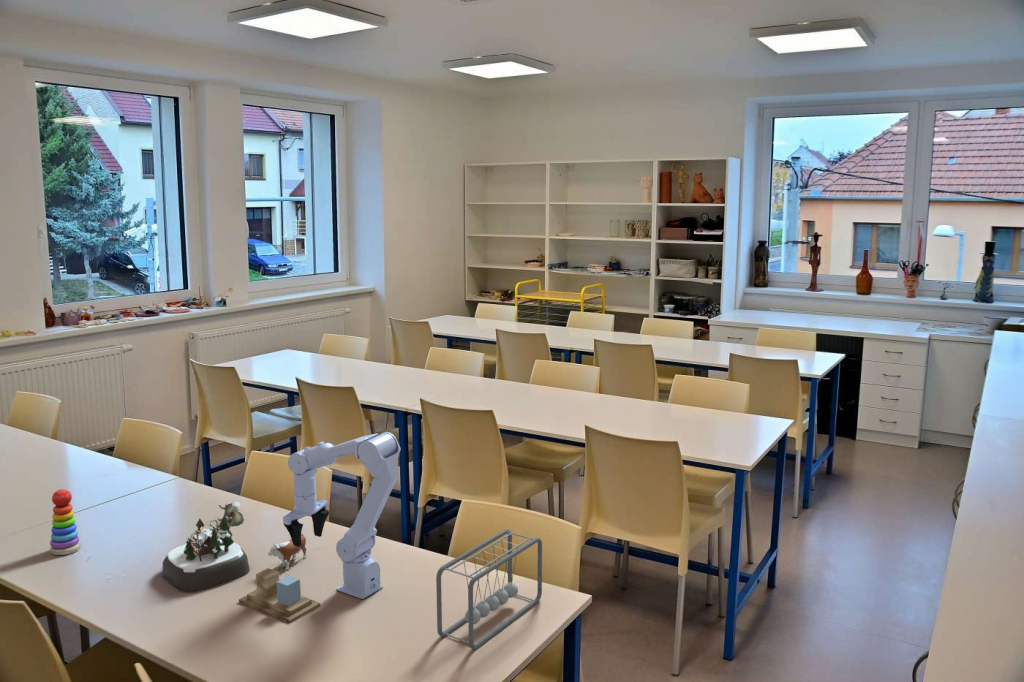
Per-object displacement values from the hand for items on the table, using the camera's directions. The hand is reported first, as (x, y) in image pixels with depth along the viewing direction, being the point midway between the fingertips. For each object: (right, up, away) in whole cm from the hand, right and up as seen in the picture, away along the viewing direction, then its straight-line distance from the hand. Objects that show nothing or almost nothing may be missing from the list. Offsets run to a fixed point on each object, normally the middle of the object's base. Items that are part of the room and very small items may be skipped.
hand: (307, 540), depth 221 cm
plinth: (-4, -13, -13) cm, 19 cm away
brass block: (-7, -11, -11) cm, 17 cm away
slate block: (-1, -11, -16) cm, 19 cm away
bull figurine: (-7, -9, +9) cm, 15 cm away
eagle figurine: (-34, -4, +40) cm, 53 cm away
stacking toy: (-76, -8, +18) cm, 79 cm away
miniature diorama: (-29, -10, +5) cm, 31 cm away
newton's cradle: (+51, -14, -20) cm, 56 cm away
